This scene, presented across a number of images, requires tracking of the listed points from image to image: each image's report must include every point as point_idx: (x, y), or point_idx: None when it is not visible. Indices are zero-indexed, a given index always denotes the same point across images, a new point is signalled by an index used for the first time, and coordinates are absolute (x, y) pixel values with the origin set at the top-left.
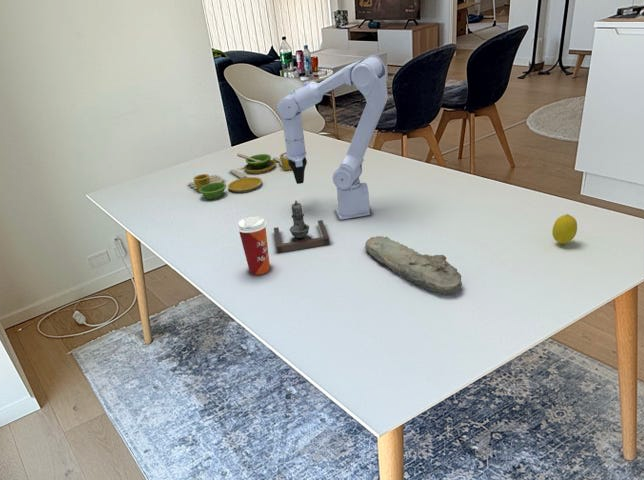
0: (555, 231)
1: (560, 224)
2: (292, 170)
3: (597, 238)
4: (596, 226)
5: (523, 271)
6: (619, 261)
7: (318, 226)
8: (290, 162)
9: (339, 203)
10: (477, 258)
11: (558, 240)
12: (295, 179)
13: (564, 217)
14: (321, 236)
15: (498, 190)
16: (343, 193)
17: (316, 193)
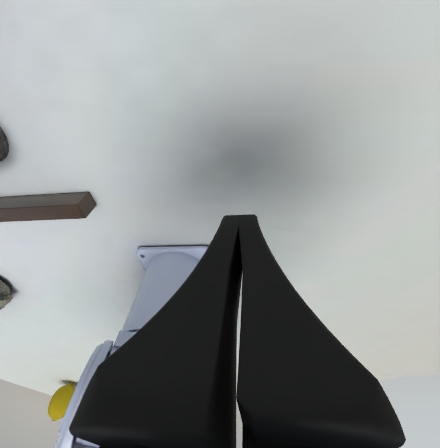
0: (54, 398)
1: (49, 409)
2: (161, 309)
3: None
4: None
5: (2, 360)
6: (47, 388)
7: (75, 195)
8: (145, 441)
9: (149, 283)
10: (17, 347)
11: (59, 388)
12: (214, 236)
13: (51, 417)
14: (15, 196)
15: None
16: (124, 325)
17: (417, 204)
